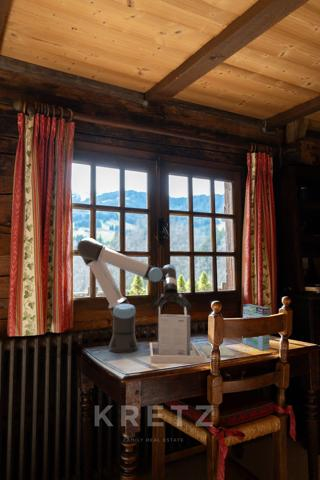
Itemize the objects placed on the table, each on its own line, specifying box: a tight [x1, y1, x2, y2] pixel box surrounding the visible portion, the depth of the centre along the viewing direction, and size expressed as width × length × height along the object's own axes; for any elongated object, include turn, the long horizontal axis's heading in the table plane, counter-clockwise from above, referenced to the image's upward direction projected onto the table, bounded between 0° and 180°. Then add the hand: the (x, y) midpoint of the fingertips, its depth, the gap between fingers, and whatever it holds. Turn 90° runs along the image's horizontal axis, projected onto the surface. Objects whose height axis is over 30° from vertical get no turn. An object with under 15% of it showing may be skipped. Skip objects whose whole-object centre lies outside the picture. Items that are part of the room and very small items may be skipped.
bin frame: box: [149, 342, 203, 364], centre depth 183 cm, size 24×28×3 cm
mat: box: [200, 345, 236, 358], centre depth 190 cm, size 14×20×1 cm
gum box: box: [242, 303, 271, 351], centre depth 205 cm, size 20×5×23 cm, turn 20°
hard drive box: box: [157, 313, 191, 356], centre depth 183 cm, size 16×8×20 cm, turn 72°
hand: (172, 318), depth 188 cm, fingers open, 13 cm apart
